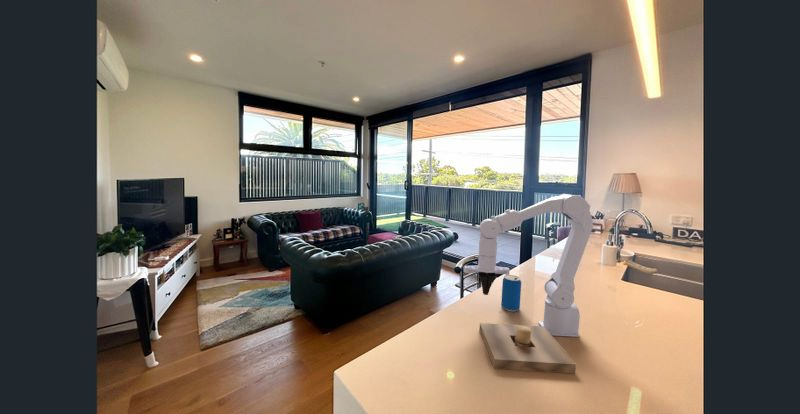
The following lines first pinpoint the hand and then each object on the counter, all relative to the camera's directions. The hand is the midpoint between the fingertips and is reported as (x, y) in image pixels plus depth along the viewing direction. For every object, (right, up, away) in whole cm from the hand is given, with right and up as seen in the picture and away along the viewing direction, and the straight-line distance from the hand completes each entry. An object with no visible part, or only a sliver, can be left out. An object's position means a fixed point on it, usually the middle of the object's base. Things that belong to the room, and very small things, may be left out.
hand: (485, 293), depth 95 cm
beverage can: (+13, -9, +10) cm, 18 cm away
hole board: (+6, -11, -15) cm, 20 cm away
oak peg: (+6, -11, -15) cm, 20 cm away
